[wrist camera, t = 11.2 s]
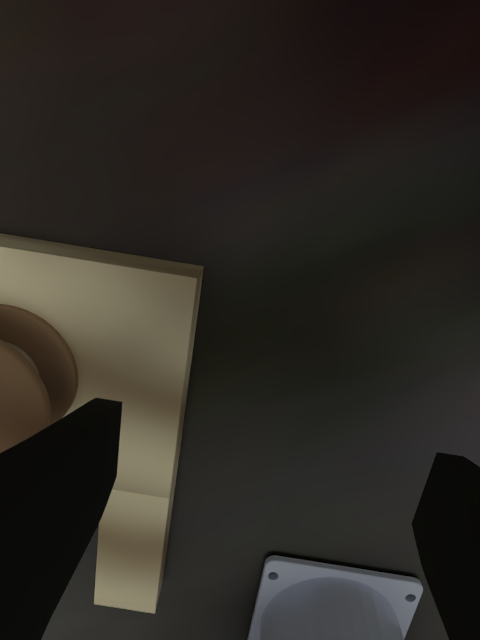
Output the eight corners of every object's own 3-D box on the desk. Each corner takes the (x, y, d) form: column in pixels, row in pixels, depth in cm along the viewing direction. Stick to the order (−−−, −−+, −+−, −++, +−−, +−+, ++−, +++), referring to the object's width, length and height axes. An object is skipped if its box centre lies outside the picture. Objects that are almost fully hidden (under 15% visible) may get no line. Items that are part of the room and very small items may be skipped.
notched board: (163, 578, 24) (139, 679, 20) (-100, 536, 24) (-187, 627, 20) (203, 266, 19) (183, 302, 14) (-139, 210, 19) (-276, 228, 14)
